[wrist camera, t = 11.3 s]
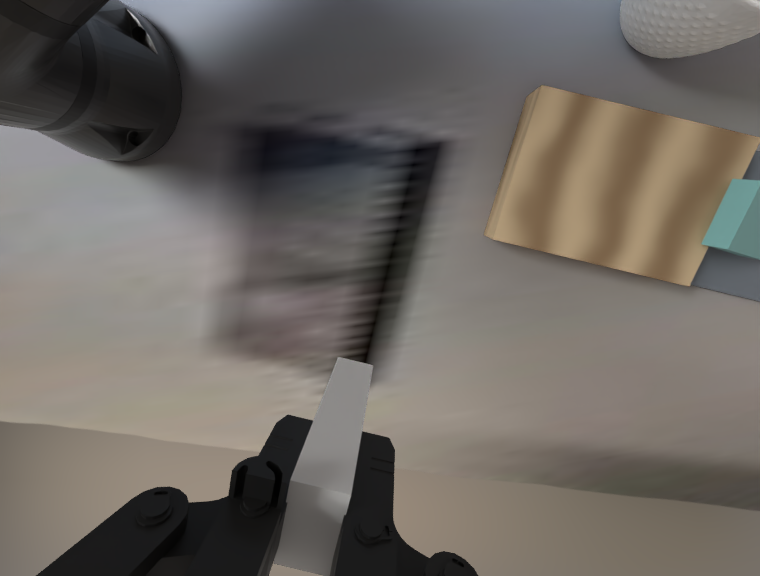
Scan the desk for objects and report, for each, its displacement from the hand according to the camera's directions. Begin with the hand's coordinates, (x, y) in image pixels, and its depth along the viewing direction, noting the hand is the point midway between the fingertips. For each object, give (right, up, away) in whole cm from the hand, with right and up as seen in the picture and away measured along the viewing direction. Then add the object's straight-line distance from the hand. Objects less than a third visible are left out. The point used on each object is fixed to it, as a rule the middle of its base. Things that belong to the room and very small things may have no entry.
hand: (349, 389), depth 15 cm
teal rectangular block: (+36, +11, +20) cm, 42 cm away
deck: (+24, +14, +22) cm, 36 cm away
